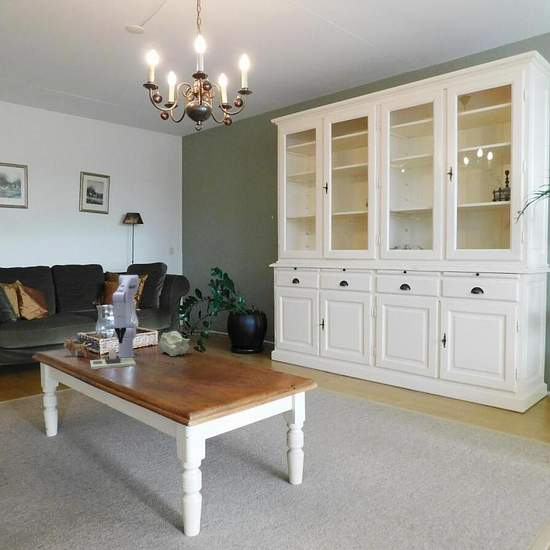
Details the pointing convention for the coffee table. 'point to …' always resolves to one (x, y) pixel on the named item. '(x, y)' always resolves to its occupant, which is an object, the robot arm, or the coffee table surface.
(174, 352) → the folded clay sculpture
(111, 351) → the plug
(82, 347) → the lion figurine
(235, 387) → the coffee table surface
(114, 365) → the board
